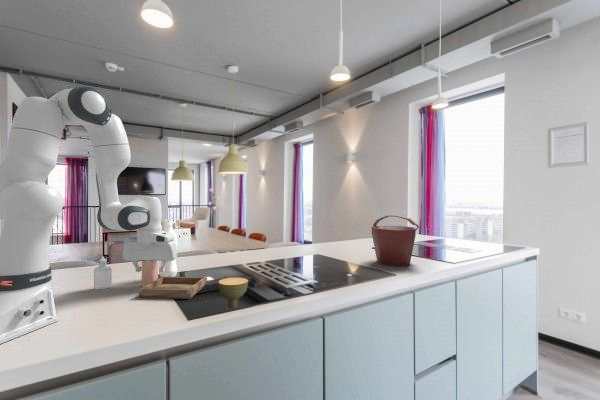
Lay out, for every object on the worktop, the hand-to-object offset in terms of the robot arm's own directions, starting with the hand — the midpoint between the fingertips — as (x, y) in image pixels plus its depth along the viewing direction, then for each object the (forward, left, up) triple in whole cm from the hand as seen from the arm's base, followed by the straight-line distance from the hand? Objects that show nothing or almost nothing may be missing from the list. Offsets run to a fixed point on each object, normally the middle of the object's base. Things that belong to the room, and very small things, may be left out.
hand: (150, 271), depth 117 cm
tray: (-6, -13, -5) cm, 15 cm away
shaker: (0, 0, -5) cm, 5 cm away
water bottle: (+11, -2, -6) cm, 12 cm away
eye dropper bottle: (-4, +16, -6) cm, 18 cm away
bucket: (+44, -106, -6) cm, 115 cm away
